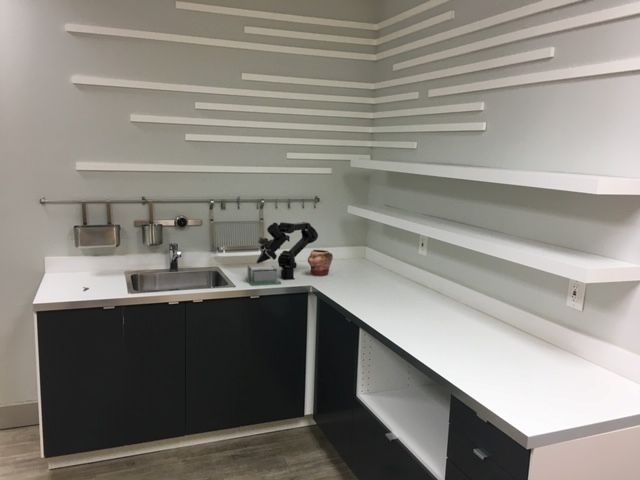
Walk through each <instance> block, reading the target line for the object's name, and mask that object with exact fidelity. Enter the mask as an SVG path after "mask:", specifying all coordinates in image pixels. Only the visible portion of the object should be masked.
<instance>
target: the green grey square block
mask: <svg viewBox="0 0 640 480" xmlns="http://www.w3.org/2000/svg"><path fill="white" fill-rule="evenodd" d="M250 267H251V266H249V265H247V276H245V280H246V281H247V283H248V284H249V285H250V286H251V287H253V286H254V287H257V286H270V285H271V286H272V285H273V286H274V285H281V284H282V281H280V280H279V278H277V268H275V269H274V270H251V268H250Z"/></svg>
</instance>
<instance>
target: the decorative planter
mask: <svg viewBox="0 0 640 480" xmlns="http://www.w3.org/2000/svg"><path fill="white" fill-rule="evenodd" d="M333 256H334V255H333V253H332V252H330V251H328V250H323V249H313V250H311V252H310V254H309V256H308V257H307V263H308V265H309V266H310V274H311V275H313V276H316V277H324V276H328V274H329V272H330V267H331V264H332V261H333V259H334V257H333Z"/></svg>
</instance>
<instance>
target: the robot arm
mask: <svg viewBox="0 0 640 480" xmlns="http://www.w3.org/2000/svg"><path fill="white" fill-rule="evenodd" d="M266 230H267V233H268V234H269V235H270V236H271V237H272V238H271V239H268V238H267V237H264V238H263V237H262V236H259V239H258V240H257V243H259V244H260V245H259V248H260V255H259V257H258V258H257V260H256V264H261V263H263V262H265V261H267V260H271V259H272V260H274V261H275V260H276V259H277V262H278V266H279V268H281V270H280V278H281V279H282V280H295V277H294V276H295V275H294V274H295V271H294V270H295V269H296V268H297V265H298V264H297V262H296V257H297V256H298V255H299V254H300V253H301V252H302V251H303V250H304V249H305V248H306V247H307V246H308V245H309V244H312V243H314V242H316V241H317V239H318V238H319V234H318V232H317V230H316V229H315V228H314V227H313V226H312V225H311V223H309V222H307V221H306V222H305V221H303V222H296V223H291V222H284V221H281V222H280V223H279V224H278V222H272V224H270V225H268V227H267V228H266ZM296 231H300V232H301V233H300V234H301V238H300V239H299V240H298V241H297V242H296V244H294V245H293V246H292V247H291V248H290V249H289V250H283V251H282V252H281V253H280V254H279V255H278V258H277V254H276V251H278V250H280V249H281V247H282V245H284V243H285V242H286V241H287V242H290V240H291V239H290V235H288V234H293V233H294V232H296Z"/></svg>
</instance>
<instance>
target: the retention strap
mask: <svg viewBox="0 0 640 480" xmlns="http://www.w3.org/2000/svg"><path fill="white" fill-rule="evenodd" d="M249 267H250V268H251V270H274V269H276V268H275V266H267V267H266V266H261V267H260V266H257V267H256V266H253V267H251V266H249Z"/></svg>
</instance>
